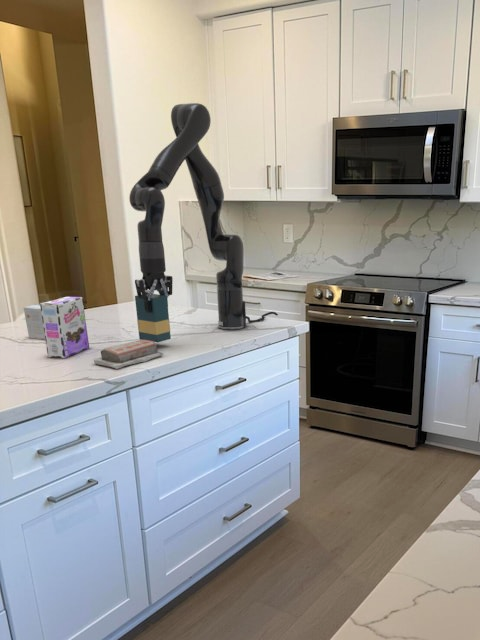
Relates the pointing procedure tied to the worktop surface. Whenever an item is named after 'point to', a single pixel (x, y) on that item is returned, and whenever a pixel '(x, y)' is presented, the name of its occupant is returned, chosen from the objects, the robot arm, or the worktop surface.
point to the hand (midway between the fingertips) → (156, 310)
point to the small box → (34, 321)
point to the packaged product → (128, 354)
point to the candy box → (64, 326)
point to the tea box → (153, 319)
